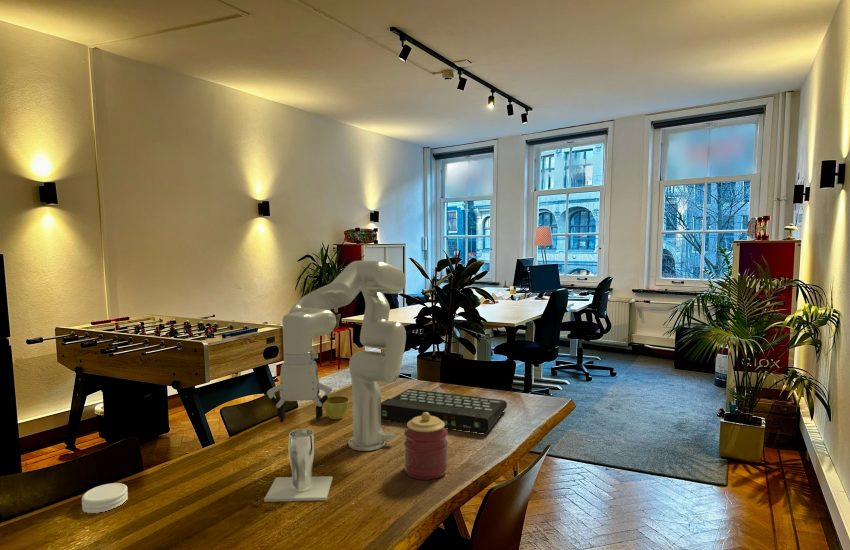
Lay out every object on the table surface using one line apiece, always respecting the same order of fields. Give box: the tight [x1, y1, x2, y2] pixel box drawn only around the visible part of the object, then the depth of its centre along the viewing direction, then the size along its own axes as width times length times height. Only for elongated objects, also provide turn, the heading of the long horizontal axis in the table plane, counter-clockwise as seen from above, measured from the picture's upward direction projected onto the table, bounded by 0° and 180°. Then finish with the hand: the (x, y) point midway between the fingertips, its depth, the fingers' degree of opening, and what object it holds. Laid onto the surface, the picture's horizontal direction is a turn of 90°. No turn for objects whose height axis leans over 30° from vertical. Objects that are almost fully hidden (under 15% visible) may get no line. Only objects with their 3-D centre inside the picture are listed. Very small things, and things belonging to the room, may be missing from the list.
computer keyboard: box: [381, 388, 508, 435], centre depth 194 cm, size 45×28×7 cm, turn 67°
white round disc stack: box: [81, 482, 129, 514], centre depth 127 cm, size 10×10×4 cm
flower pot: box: [323, 395, 350, 420], centre depth 192 cm, size 10×10×7 cm
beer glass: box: [288, 428, 316, 492], centre depth 134 cm, size 7×7×15 cm
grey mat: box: [263, 475, 333, 503], centre depth 134 cm, size 16×12×1 cm
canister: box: [403, 412, 449, 481], centre depth 145 cm, size 13×13×18 cm
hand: (300, 419), depth 134 cm, fingers open, 9 cm apart
